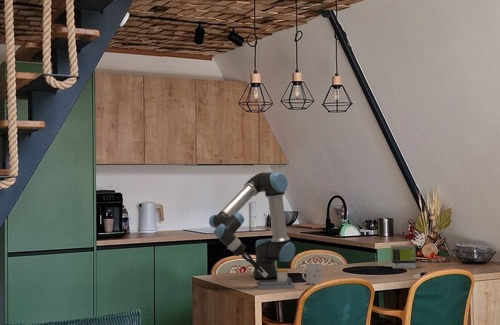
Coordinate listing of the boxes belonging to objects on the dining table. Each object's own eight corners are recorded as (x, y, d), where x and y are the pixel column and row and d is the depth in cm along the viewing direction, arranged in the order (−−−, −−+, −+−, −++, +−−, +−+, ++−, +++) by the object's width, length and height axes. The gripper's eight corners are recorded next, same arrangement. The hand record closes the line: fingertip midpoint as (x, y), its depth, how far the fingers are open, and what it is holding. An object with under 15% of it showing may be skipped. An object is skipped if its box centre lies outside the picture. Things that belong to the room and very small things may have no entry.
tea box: (414, 266, 462) (413, 244, 462) (416, 268, 452) (416, 246, 452) (391, 266, 463) (391, 244, 463) (392, 268, 453) (392, 246, 453)
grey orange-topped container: (278, 284, 386) (278, 270, 386) (276, 282, 391) (276, 268, 391) (287, 283, 387) (287, 270, 387) (286, 282, 392) (285, 268, 392)
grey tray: (259, 289, 381) (259, 280, 381) (256, 285, 394) (256, 276, 394) (294, 288, 383) (294, 279, 383) (290, 284, 396) (290, 275, 396)
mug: (316, 282, 404) (316, 263, 404) (324, 284, 396) (324, 264, 396) (298, 283, 398) (298, 264, 398) (306, 286, 390) (306, 266, 390)
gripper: (230, 250, 392) (260, 279, 394) (233, 253, 379) (263, 282, 381) (240, 240, 392) (269, 269, 394) (242, 243, 380) (273, 272, 382)
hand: (266, 275), depth 388 cm, fingers closed
